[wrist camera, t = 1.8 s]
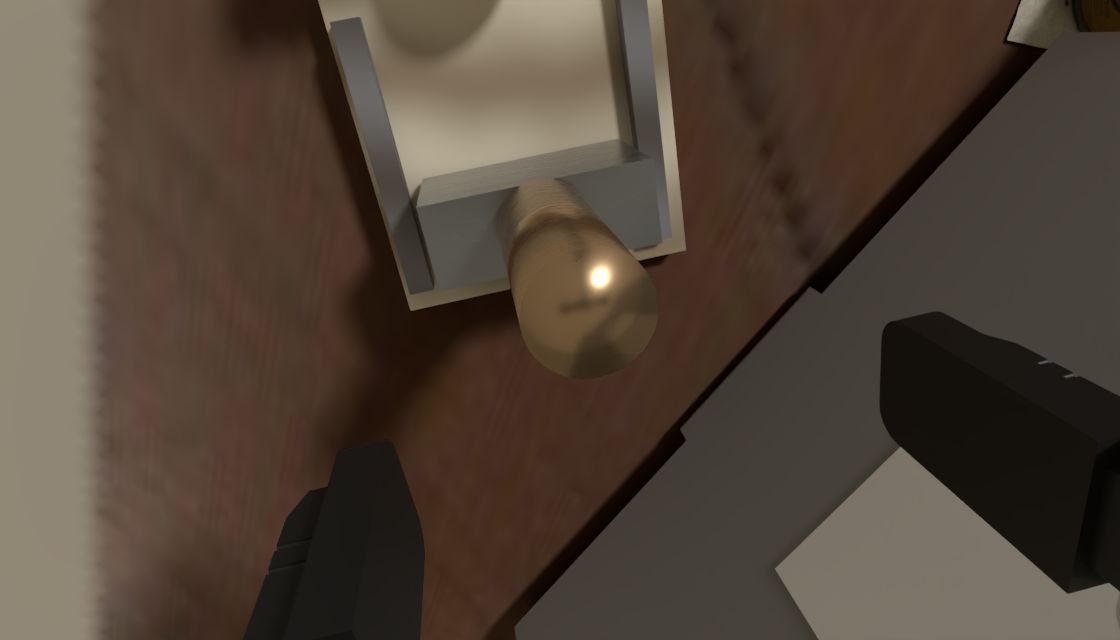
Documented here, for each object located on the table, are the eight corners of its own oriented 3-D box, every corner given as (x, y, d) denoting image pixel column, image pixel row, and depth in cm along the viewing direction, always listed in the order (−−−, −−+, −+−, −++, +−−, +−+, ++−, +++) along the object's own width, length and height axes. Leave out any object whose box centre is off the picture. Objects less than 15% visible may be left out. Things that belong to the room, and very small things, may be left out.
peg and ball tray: (269, -184, 22) (189, -284, 15) (627, -243, 22) (699, -362, 16) (412, 300, 29) (400, 375, 22) (677, 242, 30) (740, 297, 23)
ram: (422, 176, 25) (395, 289, 14) (617, 136, 26) (755, 210, 14) (442, 252, 27) (433, 415, 15) (627, 212, 27) (761, 338, 15)
